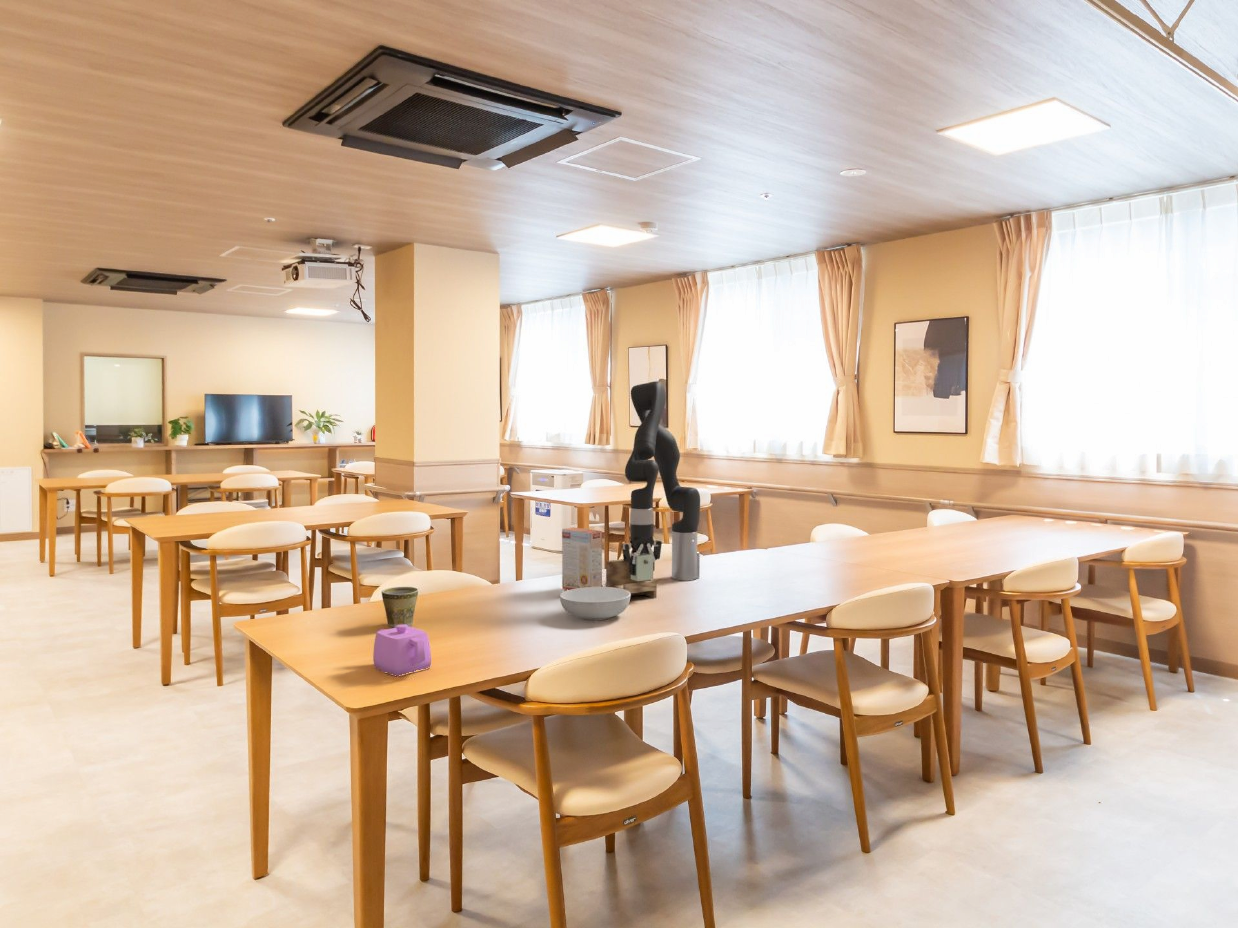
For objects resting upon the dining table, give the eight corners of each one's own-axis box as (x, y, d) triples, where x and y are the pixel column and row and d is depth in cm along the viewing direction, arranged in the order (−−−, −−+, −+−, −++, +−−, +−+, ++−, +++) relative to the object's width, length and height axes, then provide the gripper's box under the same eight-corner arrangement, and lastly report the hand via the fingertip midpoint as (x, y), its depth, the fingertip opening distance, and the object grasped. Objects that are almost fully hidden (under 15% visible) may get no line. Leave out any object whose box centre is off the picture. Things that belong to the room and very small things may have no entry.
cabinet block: (646, 577, 267) (646, 552, 267) (654, 579, 263) (654, 554, 263) (630, 578, 264) (630, 554, 264) (638, 581, 260) (638, 556, 260)
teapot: (362, 664, 197) (361, 622, 196) (401, 655, 204) (400, 614, 204) (401, 681, 184) (400, 636, 184) (441, 671, 192) (441, 627, 191)
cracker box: (603, 592, 275) (603, 530, 274) (590, 595, 271) (589, 532, 270) (574, 586, 285) (574, 526, 284) (561, 589, 281) (561, 528, 280)
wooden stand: (647, 592, 276) (647, 556, 275) (661, 596, 269) (661, 560, 268) (606, 597, 268) (606, 560, 267) (619, 602, 261) (619, 565, 260)
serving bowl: (588, 605, 258) (588, 583, 257) (644, 614, 246) (644, 591, 245) (545, 618, 241) (545, 595, 240) (602, 629, 229) (602, 604, 228)
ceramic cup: (417, 629, 229) (416, 593, 228) (380, 630, 227) (379, 594, 226) (420, 617, 241) (420, 583, 241) (385, 619, 240) (384, 585, 239)
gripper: (654, 519, 270) (654, 569, 271) (616, 522, 263) (616, 574, 264) (667, 521, 263) (667, 573, 265) (628, 525, 256) (628, 578, 257)
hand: (641, 573), depth 264 cm, fingers closed on cabinet block, 6 cm apart
